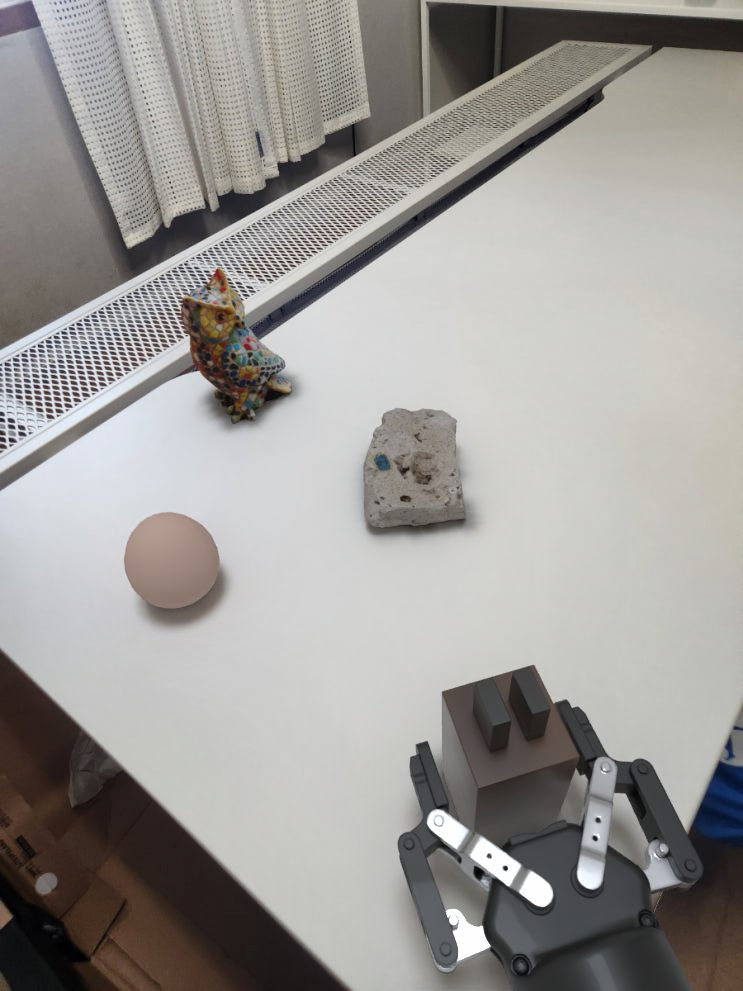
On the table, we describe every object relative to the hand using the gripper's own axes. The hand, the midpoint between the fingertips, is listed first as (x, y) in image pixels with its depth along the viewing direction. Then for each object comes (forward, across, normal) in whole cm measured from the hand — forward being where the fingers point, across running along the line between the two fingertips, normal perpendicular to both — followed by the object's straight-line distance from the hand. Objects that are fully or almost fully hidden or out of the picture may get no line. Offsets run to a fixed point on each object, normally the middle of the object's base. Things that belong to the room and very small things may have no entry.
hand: (490, 726), depth 39 cm
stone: (+26, -4, +7) cm, 28 cm away
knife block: (-2, 0, +7) cm, 7 cm away
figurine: (+45, +9, +7) cm, 46 cm away
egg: (+21, +18, +7) cm, 29 cm away
